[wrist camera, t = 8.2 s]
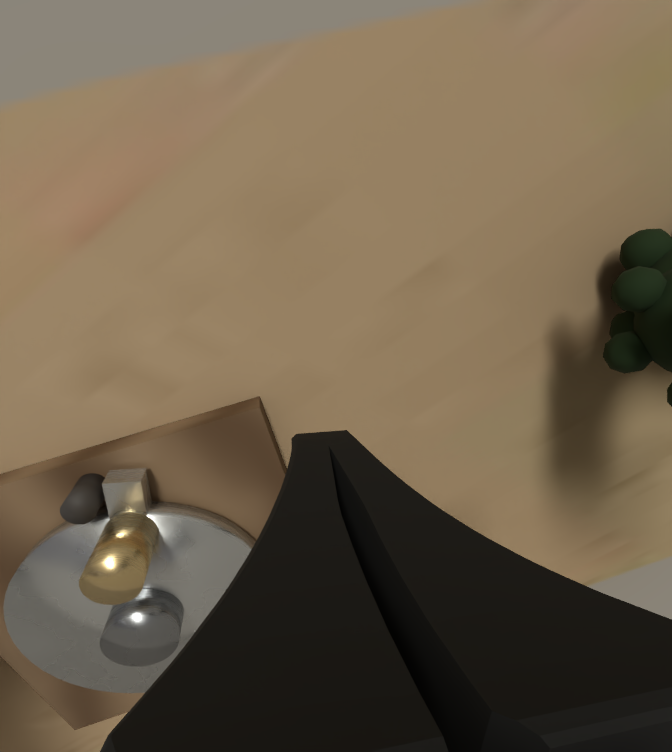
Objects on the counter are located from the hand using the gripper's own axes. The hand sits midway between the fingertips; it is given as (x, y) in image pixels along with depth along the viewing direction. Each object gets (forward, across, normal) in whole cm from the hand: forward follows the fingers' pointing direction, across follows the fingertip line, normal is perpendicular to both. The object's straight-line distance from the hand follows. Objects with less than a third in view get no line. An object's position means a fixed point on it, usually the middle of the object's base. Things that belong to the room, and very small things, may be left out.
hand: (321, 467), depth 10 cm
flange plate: (+9, +8, +14) cm, 18 cm away
